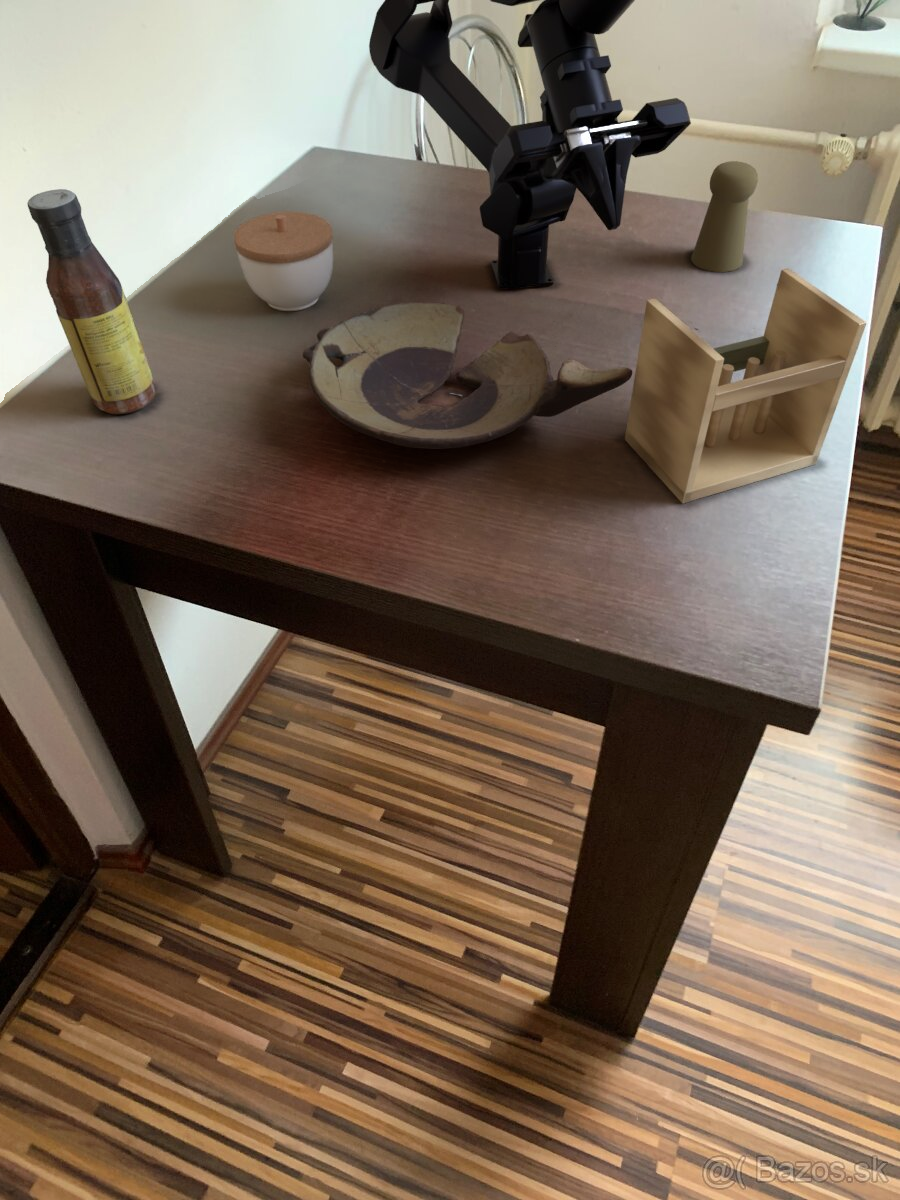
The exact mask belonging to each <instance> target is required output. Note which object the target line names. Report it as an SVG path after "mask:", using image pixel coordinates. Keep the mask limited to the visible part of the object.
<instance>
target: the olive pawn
mask: <svg viewBox="0 0 900 1200" xmlns="http://www.w3.org/2000/svg"><path fill="white" fill-rule="evenodd" d="M758 181H759V174H758V172H757V169H756V168H755V167H754V166H752V165H751V164H749V163H747V162H743V161H737V160H736V161H735V160H731V161H725V162H722V163H720V164H718V165H717V166H716V167H715V168H714V169H713V171H712V173H711V176H710V179H709V189H710V192H711V198H710V200H709V201H710V202H709V203H708V206H707V210H706V213H705V215H704V218H703V221H702V224H701V228H700V231H699V234H698V237H697V240H696V243H695V246H694V248H693V252H692V255H691V261H692V263H693V264H694V265H695V266H696V267H698V268H700V269H702V270H706V271H708V272H714V273H729V272H733V271H735V270H738V269H739V268H740V267H742V265H743V261H744V251H745V241H746V229H747V221H748V210H749V199H750V198H751V197H752V196H753V195H754V193H755V191H756V189H757V185H758Z"/></svg>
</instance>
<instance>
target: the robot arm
mask: <svg viewBox="0 0 900 1200" xmlns="http://www.w3.org/2000/svg"><path fill="white" fill-rule="evenodd" d="M489 1H490V2H492V3H496V4H500V5H504V6H508V7H517V6H519V5H524V4H529V3H533V2H534V3H535V2H538V1H539V2H540V0H489ZM635 1H636V0H542V2H541V3H540V4H538V6H537V8H535V10H534V12H533V13H527V14H525V16H524V22H523V25H522V28H521V29H520V31H519V32H518V38H517V46H518V48H532V49H533V52H534V56H535V59H536V63H537V66H538V70H539V75H540V78H541V81H542V85H543V88H544V90H543V91H542V93H541V95H540V96H539V100H540V108H541V112H542V113H541V120H539V121H533V122H527V123H521V124H514V125H511V124H510V122H509V121H508V120H506V119H505V117H504V116H503V115H502V114H501V113H500V112H499V110H498V109H497V108H496V107H495V106H494V105H493V104H492V103H491V102H490V101H489V99H487V98H486V96H484V94H483V93H482V92H481V91H480V90H479V89H478V88H477V86H476V85H475V84H473V82H472V81H471V80H470V79H469V78H468V77H467V76H466V75H465V74H464V72H463V71H462V70H460V68H459V67H458V66H457V65H456V64H455V62H453V60H452V59H451V42H450V41H451V40H450V38H449V35H450V32H451V29H452V27H453V18H452V14H451V10H450V5H449V2H450V0H384V1H383V2H382V4H381V5H380V6H379V8H378V9H377V12H376V14H375V17H374V21H373V25H372V30H371V33H370V38H369V44H368V49H369V55H370V59H371V62H372V64H373V66H374V67H375V69H376V70H377V72H378V73H379V74H380V75H381V76H382V77H383V78H384V79H385V80H386V81H388V82H389V83H390V84H391V85H392V86H394V87H395V88H397V89H400V90H403V91H407V92H409V93H414V94H417V95H419V96H421V97H422V98H423V100H425V101H426V103H427V104H428V106H430V107H431V109H432V110H433V111H434V112H435V113H436V114H437V115H438V116H439V118H440V119H441V120H442V121H443V122H444V123H445V124H446V125H447V126H448V128H449V129H450V130H451V131H452V132H453V133H454V135H455V136H456V137H457V138H458V139H459V140H460V142H462V143H463V144H464V146H465V147H466V148H467V149H468V150H469V151H470V152H471V154H472V155H473V156H474V157H475V158H476V159H477V161H478V162H479V163H480V164H481V165H482V166H483V167H484V169H485V170H486V171H487V172H488V175H489V176H488V177H489V178H488V179H489V192H490V195H489V196H488V197H487V198H486V199H485V200H484V201H483V202H482V204H480V206H479V214H480V219H481V224H482V227H483V228H485V229H487V230H488V231H490V232H492V233H493V234H495V235H497V237H498V238H497V239H498V240H497V259H493V260H490V268H491V271H492V273H493V276H494V279H495V282H496V285H497V287H498V288H499V289H500V290H509V289H510V290H512V289H521V288H522V289H523V288H524V289H525V288H535V287H536V288H537V287H549V286H553V285H554V284H555V283H554V278H553V275H552V273H551V270H550V269H549V266H548V263H547V262H548V261H547V259H548V247H549V246H548V243H549V231H550V225H553V224H556V223H558V222H564V221H565V220H566V219H567V216H568V213H569V211H570V208H571V206H572V204H573V202H574V199H575V194H576V192H577V190H578V191H579V192H580V193H581V195H582V196H583V197H584V198H585V200H586V201H587V203H588V204H589V205H590V207H591V208H592V209H593V211H594V213H596V215H597V216H598V218H599V220H600V221H601V222H602V223H603V225H604V226H605V228H606V229H607V230H608V231H612V230H617V229H618V228H619V227H620V226H621V222H622V214H623V205H624V200H625V191H626V183H627V177H628V171H629V167H630V163H631V158H632V157H634V158H636V159H637V158H641V157H647V156H651V155H657V154H660V153H662V152H664V151H666V149H668V148H669V146H670V145H671V144H672V143H674V142H675V140H676V139H677V138H678V137H679V136H681V134H683V132H685V130H686V129H687V128H688V127H690V125H691V124H692V122H691V118H690V114H689V111H688V107H687V105H686V103H685V102H684V101H683V100H681V99H680V98H677V97H673V98H668V99H667V98H666V99H663V100H656V101H651V102H646V103H645V104H644V105H643V107H641V109H640V110H639V111H638V112H637V114H635V115H634V117H633V118H632V119H629V120H624V121H618V117H619V116H620V115H621V114H622V112H623V111H624V108H623V103H622V101H621V98H620V99H619V98H618V99H614V100H613V98H612V94H611V90H610V88H609V87H610V86H609V84H608V80H607V76H606V74H607V73H608V71H609V70H610V68H612V63H611V59H610V56H609V55H601V54H600V51H599V50H600V49H599V47H598V43H597V39H596V35H602V34H605V33H606V32H608V31H609V30H611V28H612V27H613V26H614V25H615V24H616V23H617V21H619V19H620V18H621V17H622V16H623V15H624V14H625V12H626V11H627V10H628V9H629V8H630V7H631V6H632V4H633V3H635ZM431 2H432V5H431V9H430V11H429V12H428V11H424V12H420V13H416V14H414V13H415V12H416V10H417V7H418V5H421V4H426V3H431Z"/></svg>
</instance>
